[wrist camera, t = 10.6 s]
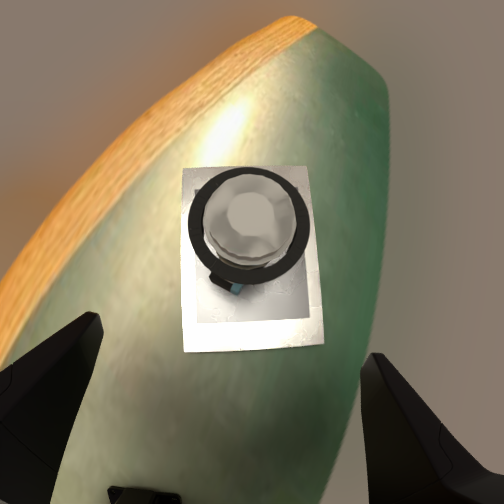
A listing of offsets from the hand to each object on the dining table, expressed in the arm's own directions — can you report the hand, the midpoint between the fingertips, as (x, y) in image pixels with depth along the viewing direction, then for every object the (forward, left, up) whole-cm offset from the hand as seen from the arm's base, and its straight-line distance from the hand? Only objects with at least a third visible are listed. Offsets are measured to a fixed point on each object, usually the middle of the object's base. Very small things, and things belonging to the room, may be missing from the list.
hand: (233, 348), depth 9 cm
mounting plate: (+6, -2, -13) cm, 15 cm away
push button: (+6, -1, -12) cm, 13 cm away
